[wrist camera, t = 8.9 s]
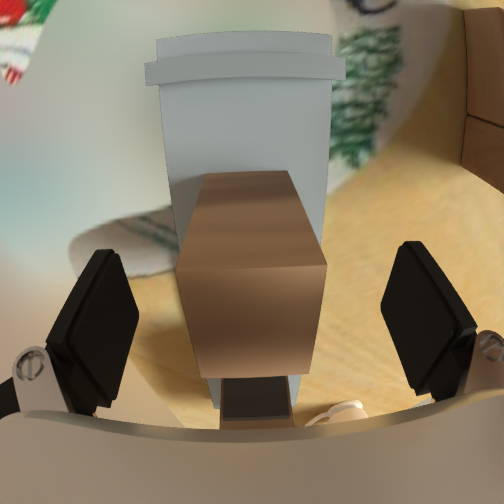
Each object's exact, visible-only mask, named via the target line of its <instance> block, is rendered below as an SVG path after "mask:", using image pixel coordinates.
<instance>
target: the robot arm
mask: <svg viewBox="0 0 504 504" xmlns="http://www.w3.org/2000/svg"><path fill="white" fill-rule="evenodd" d="M381 313H382V315H383V318H384V320H385V323H386V325H387V327H388V330H389V332H390V335H391V337H392V340H393V343H394V345H395V348H396V350H397V353H398V356H399V358H400V361H401V364H402V366H403V369H404V372H405V375H406V377H407V380H408V383H409V386H410V387H411V388H412V389H414V390H415V393H416V396H419V395H423V394H427V393H431V396H432V400H431V402H430V404H427V405H423V406H420V407H415V408H411V409H407V410H403V411H399V412H394V413H390V414H385V415H380V416H375V417H369V418H364V419H358V420H351V421H345V422H338V423H330V424H322V425H313V426H303V427H291V428H276V429H250V430H218V429H191V428H176V427H164V426H154V425H145V424H137V423H130V422H122V421H115V420H108V419H103V418H98V417H97V415H96V413H95V412H96V408H97V406H101V407H106V408H110V407H111V403H112V400H115V399H116V398H117V395H118V391H119V387H120V383H121V379H122V375H123V372H124V368H125V365H126V361H127V357H128V354H129V350H130V347H131V344H132V340H133V337H134V333H135V330H136V327H137V324H138V320H139V311H138V308H137V305H136V303H135V300H134V297H133V294H132V291H131V289H130V286H129V283H128V280H127V277H126V274H125V271H124V268H123V265H122V262H121V259H120V256H119V254H117V253H115V252H114V251H113V250H112V249H102V250H96V251H95V252H94V254H93V255H92V257H91V259H90V260H89V262H88V264H87V265H86V267H85V269H84V270H83V272H82V274H81V275H80V277H79V279H78V280H77V282H76V284H75V286H74V287H73V289H72V291H71V293H70V295H69V296H68V298H67V300H66V302H65V304H64V306H63V308H62V309H61V311H60V313H59V315H58V317H57V319H56V321H55V323H54V325H53V327H52V329H51V331H50V333H49V335H48V337H47V339H46V343H47V345H46V348H45V349H44V348H42V347H38V346H33V347H30V348H27V349H25V350H24V351H22V352H21V353H20V354H19V355H18V356H17V358H16V360H15V362H14V364H13V368H12V375H13V377H11V378H10V379H8V380H6V381H5V382H3V383H2V384H0V504H504V339H503V338H502V337H501V336H500V335H499V334H497V333H496V332H493V331H490V330H484V331H482V332H480V333H479V334H478V335H477V333H476V331H475V330H476V328H477V327H478V326H477V324H476V322H475V321H474V319H473V317H472V316H471V314H470V312H469V311H468V309H467V307H466V306H465V304H464V303H463V301H462V299H461V298H460V296H459V295H458V293H457V292H456V290H455V289H454V287H453V286H452V284H451V283H450V281H449V280H448V278H447V277H446V275H445V274H444V272H443V271H442V270H441V268H440V267H439V265H438V264H437V262H436V261H435V260H434V258H433V257H432V256H431V254H430V253H429V252H428V250H427V249H426V247H425V246H424V245H423V243H422V242H420V241H405V242H404V243H403V245H402V246H400V247H399V248H398V251H397V254H396V258H395V261H394V264H393V268H392V271H391V274H390V277H389V280H388V283H387V286H386V289H385V292H384V295H383V298H382V301H381Z"/></svg>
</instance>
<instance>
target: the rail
mask: <svg viewBox="0 0 504 504" xmlns="http://www.w3.org/2000/svg"><path fill="white" fill-rule="evenodd" d="M145 76H146V86H151V85H159V93H160V106H161V117H162V127H163V137H164V146H165V155H166V164H167V172H168V180H169V187H170V195H171V202H172V208H173V215H174V222H175V228H176V234H177V240H178V246H179V252H181V249H182V245H183V242H184V239H185V235H186V232H187V229H188V226H189V223H190V220H191V217H192V214H193V210H194V207H195V204H196V201H197V198H198V195H199V192H200V189H201V187H202V184H203V181H204V178H205V175H206V173H223V172H245V171H282V170H287V171H288V173H289V175H290V177H291V179H292V182H293V184H294V186H295V188H296V191H297V193H298V195H299V197H300V200H301V202H302V204H303V207H304V209H305V211H306V214H307V216H308V218H309V221H310V223H311V226H312V228H313V230H314V233H315V235H316V238H317V240H318V243H319V245H320V248H321V239H322V230H323V221H324V210H325V199H326V188H327V175H328V161H329V145H330V125H331V99H332V80H343V81H345V78H346V58H340V57H332V35H327V34H318V33H306V32H288V31H232V32H216V33H203V34H194V35H185V36H178V37H170V38H164V39H158V40H157V62H151V63H145ZM206 379H207V383H208V387H209V391H210V394H211V398H212V402H213V406H214V409H220V399H221V378H206ZM300 380H301V374H300V375H288V381H289V389H290V397H291V405H292V406H295V405H296V400H297V395H298V390H299V385H300Z"/></svg>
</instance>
